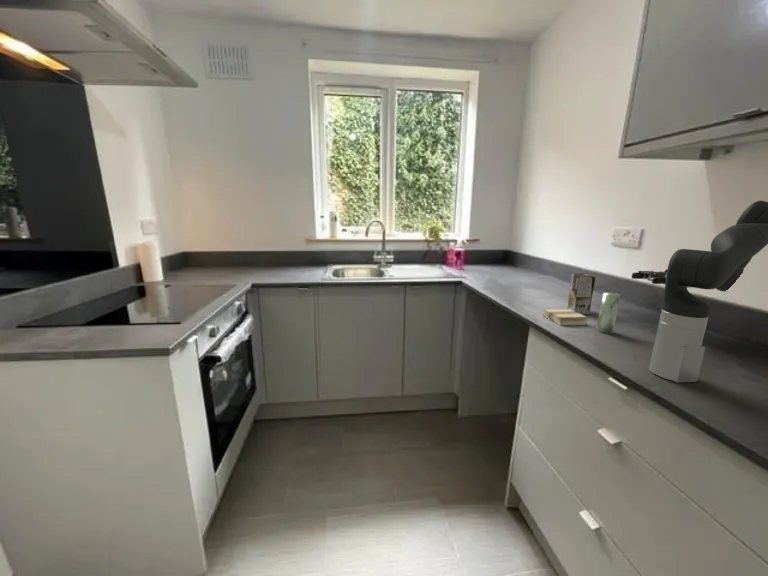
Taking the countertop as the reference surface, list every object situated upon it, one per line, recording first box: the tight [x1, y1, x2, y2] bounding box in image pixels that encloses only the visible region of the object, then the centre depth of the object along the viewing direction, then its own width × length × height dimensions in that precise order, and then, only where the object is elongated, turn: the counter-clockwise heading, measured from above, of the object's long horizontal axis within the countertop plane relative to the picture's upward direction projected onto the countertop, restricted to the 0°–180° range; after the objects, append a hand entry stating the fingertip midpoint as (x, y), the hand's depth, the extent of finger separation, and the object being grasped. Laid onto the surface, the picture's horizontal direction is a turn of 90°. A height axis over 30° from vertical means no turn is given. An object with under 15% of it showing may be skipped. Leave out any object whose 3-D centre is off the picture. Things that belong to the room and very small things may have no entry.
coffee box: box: [567, 272, 596, 315], centre depth 149 cm, size 9×6×16 cm
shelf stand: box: [542, 308, 589, 326], centre depth 137 cm, size 11×11×3 cm
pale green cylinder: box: [595, 291, 621, 335], centre depth 124 cm, size 5×5×14 cm
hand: (642, 278), depth 123 cm, fingers open, 8 cm apart
